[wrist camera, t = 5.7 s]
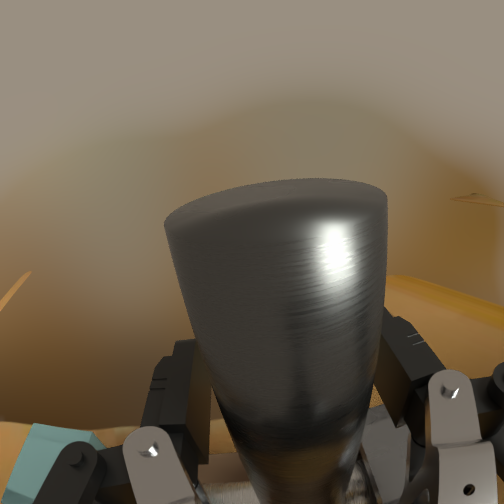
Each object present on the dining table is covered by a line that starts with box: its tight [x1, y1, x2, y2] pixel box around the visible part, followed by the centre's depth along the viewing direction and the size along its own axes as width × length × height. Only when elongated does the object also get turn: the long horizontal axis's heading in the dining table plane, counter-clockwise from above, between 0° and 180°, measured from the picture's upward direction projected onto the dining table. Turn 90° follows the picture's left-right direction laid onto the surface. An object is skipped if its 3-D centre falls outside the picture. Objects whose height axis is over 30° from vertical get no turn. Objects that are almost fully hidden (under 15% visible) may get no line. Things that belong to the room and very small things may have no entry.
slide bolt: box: [164, 178, 388, 504], centre depth 8 cm, size 20×4×16 cm, turn 94°
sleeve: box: [356, 404, 497, 504], centre depth 11 cm, size 7×6×5 cm
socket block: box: [1, 423, 107, 504], centre depth 11 cm, size 5×7×5 cm
